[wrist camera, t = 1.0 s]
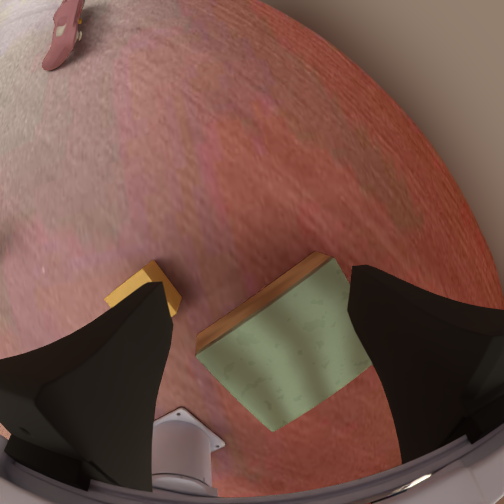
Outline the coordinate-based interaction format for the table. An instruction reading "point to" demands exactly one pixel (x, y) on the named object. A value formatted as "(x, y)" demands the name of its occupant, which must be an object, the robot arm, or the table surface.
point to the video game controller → (64, 33)
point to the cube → (141, 277)
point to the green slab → (287, 343)
